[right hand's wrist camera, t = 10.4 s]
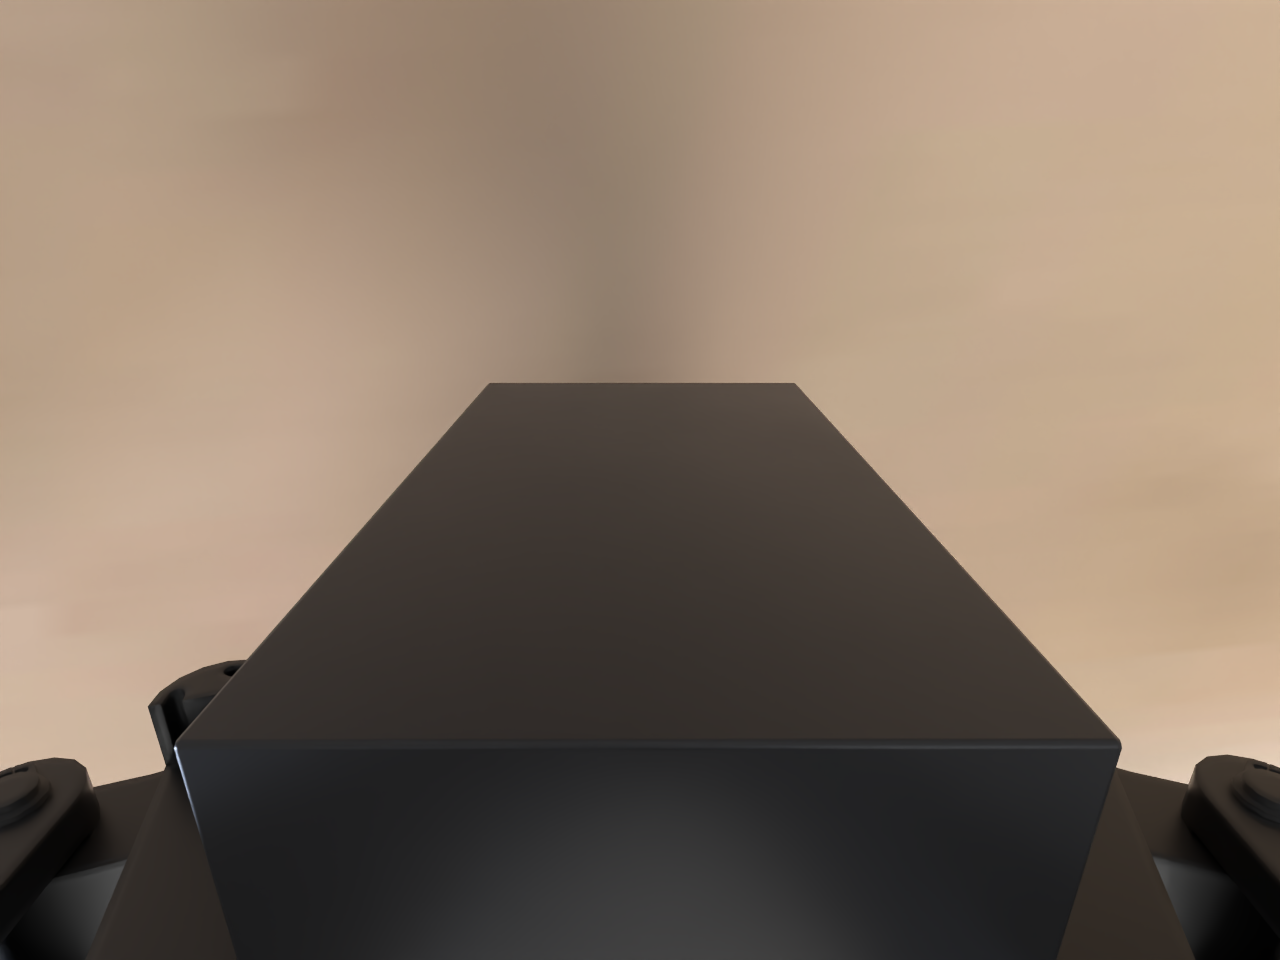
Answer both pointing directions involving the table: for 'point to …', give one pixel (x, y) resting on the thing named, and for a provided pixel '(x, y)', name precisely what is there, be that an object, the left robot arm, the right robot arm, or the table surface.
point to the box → (646, 711)
